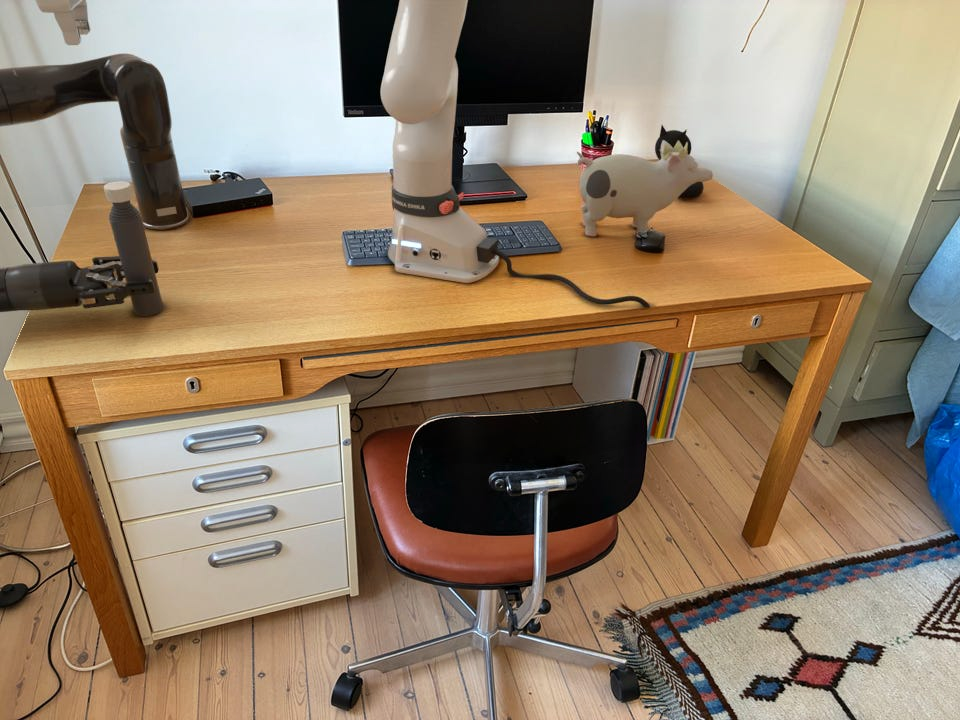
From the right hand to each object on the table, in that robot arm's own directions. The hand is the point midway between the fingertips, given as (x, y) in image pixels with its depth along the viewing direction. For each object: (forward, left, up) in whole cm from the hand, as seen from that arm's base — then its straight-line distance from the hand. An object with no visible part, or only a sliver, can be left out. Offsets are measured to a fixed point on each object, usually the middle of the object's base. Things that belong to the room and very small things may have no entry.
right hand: (79, 38), depth 98 cm
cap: (0, 0, -21) cm, 21 cm away
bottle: (0, 0, -43) cm, 43 cm away
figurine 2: (-66, -106, -43) cm, 132 cm away
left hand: (-2, -1, -37) cm, 37 cm away
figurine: (-64, -75, -43) cm, 108 cm away
